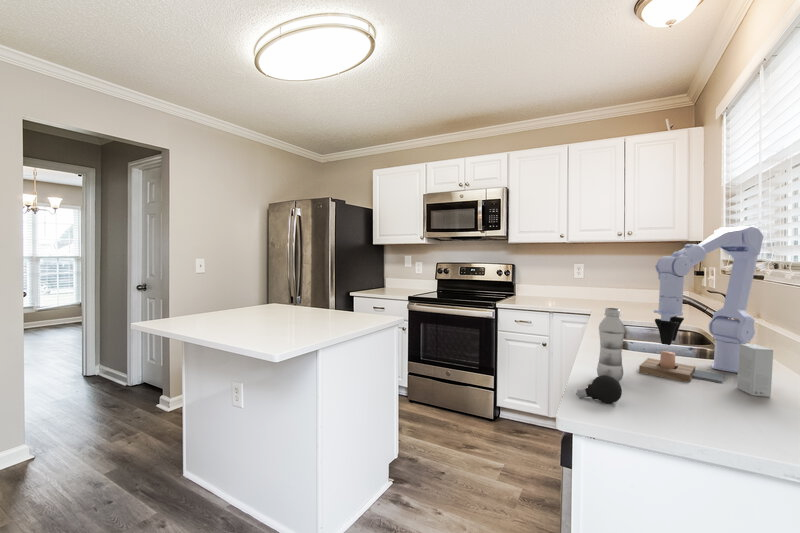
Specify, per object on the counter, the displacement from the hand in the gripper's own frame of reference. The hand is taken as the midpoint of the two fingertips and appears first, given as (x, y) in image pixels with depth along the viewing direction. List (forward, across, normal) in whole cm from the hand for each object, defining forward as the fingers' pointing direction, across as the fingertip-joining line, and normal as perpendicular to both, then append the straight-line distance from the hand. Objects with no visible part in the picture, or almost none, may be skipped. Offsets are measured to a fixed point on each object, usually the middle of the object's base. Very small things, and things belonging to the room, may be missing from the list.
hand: (668, 342), depth 114 cm
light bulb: (+10, +39, -7) cm, 41 cm away
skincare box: (+9, +3, +19) cm, 21 cm away
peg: (+9, 0, 0) cm, 9 cm away
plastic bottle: (+9, +21, -10) cm, 25 cm away
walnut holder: (+9, 0, 0) cm, 9 cm away
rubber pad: (+9, -4, +9) cm, 13 cm away
